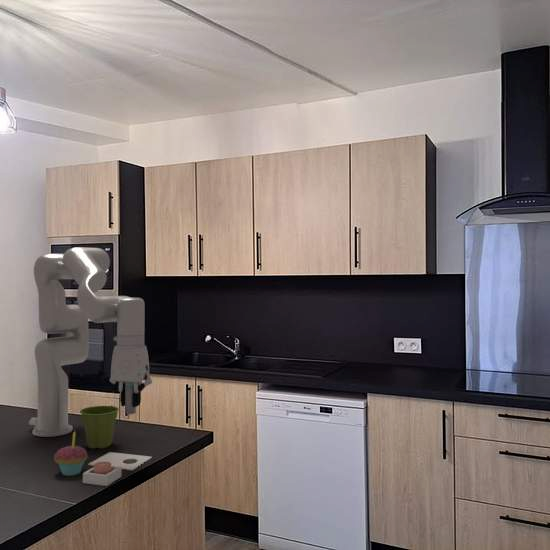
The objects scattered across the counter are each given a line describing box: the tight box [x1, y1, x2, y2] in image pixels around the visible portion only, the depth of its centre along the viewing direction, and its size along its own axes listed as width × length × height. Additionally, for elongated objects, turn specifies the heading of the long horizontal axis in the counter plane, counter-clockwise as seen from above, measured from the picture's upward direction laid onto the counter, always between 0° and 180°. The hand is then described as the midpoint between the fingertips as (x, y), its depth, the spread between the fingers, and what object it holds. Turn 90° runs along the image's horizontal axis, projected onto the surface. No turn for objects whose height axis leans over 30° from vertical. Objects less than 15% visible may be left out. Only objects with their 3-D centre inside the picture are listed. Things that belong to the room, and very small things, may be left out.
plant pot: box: [79, 405, 120, 449], centre depth 179 cm, size 12×12×11 cm
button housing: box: [82, 466, 122, 487], centre depth 150 cm, size 7×7×2 cm
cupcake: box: [53, 429, 88, 477], centre depth 155 cm, size 9×8×12 cm
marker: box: [124, 382, 137, 415], centre depth 163 cm, size 3×3×11 cm
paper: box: [87, 451, 153, 471], centre depth 165 cm, size 14×11×1 cm
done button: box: [93, 462, 111, 475], centre depth 150 cm, size 4×4×2 cm
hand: (130, 405), depth 163 cm, fingers closed on marker, 3 cm apart
